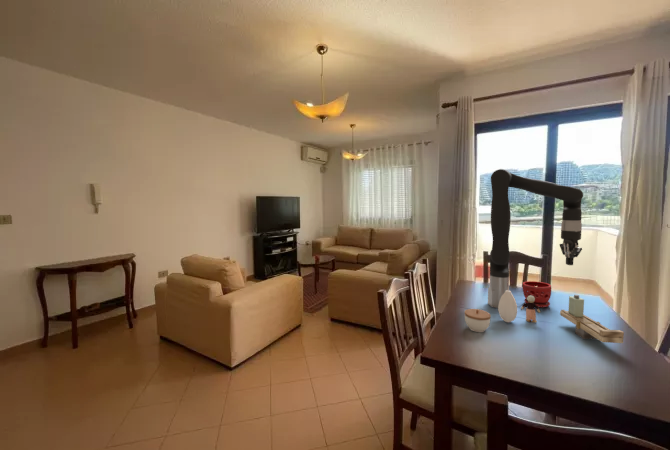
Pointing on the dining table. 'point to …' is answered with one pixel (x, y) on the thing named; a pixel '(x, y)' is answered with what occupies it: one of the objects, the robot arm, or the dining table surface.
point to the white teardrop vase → (507, 306)
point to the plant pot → (537, 292)
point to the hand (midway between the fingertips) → (569, 264)
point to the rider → (576, 306)
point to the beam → (593, 329)
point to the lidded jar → (477, 319)
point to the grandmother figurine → (530, 309)
